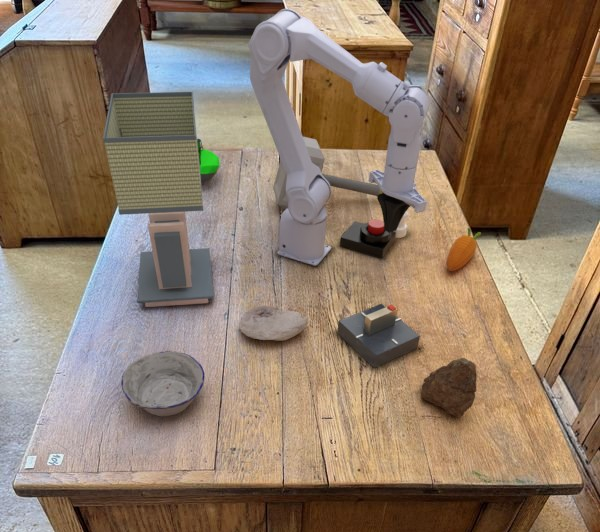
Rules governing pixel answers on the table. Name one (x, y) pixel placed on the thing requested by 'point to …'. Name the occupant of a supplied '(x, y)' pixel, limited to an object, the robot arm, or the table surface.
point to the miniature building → (207, 163)
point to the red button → (376, 226)
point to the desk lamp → (160, 190)
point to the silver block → (380, 320)
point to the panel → (378, 338)
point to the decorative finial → (402, 227)
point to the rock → (452, 386)
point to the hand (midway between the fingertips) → (390, 230)
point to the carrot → (462, 251)
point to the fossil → (272, 323)
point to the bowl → (163, 382)
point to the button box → (367, 240)
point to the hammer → (334, 181)
